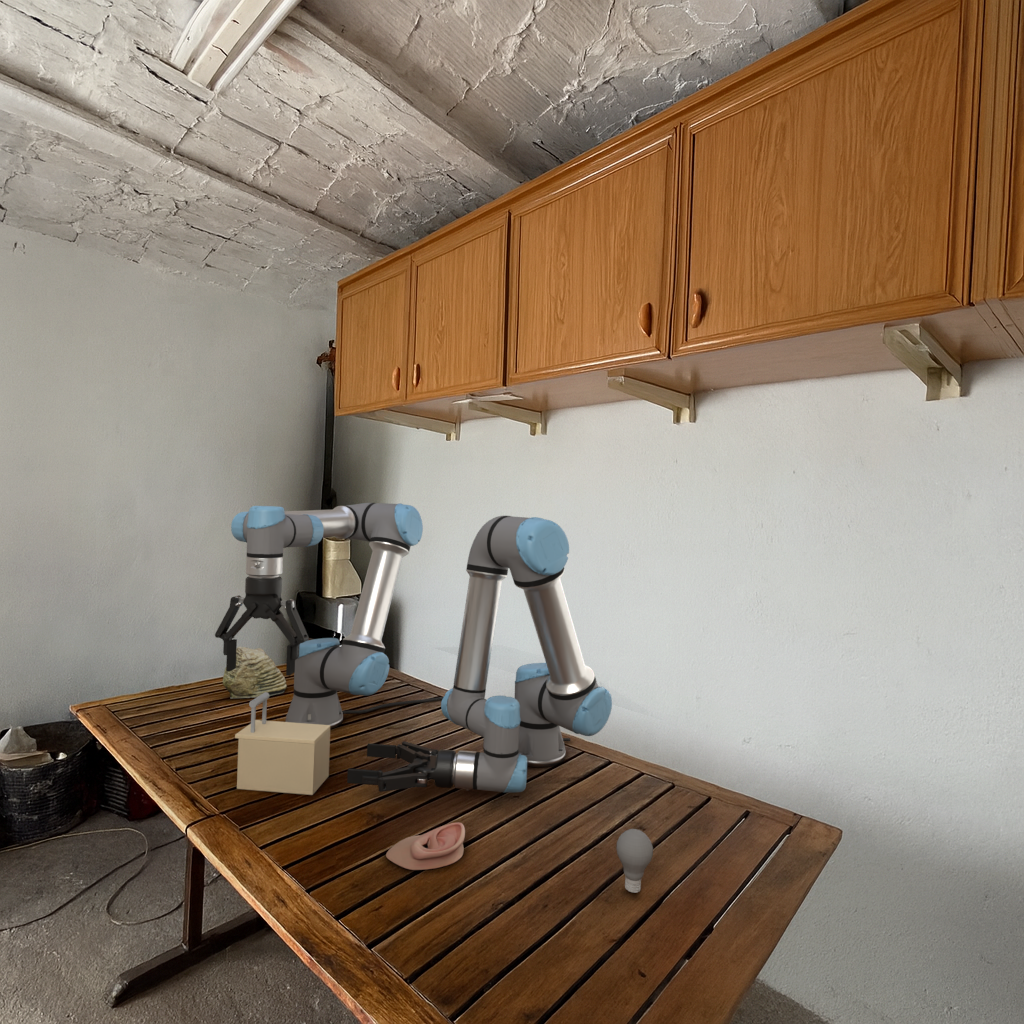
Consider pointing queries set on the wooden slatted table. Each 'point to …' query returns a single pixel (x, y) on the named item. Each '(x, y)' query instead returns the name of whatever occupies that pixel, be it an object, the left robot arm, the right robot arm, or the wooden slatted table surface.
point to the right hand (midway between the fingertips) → (358, 762)
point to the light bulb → (634, 857)
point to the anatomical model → (430, 848)
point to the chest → (283, 765)
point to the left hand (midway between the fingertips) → (260, 672)
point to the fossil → (253, 675)
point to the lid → (279, 727)
